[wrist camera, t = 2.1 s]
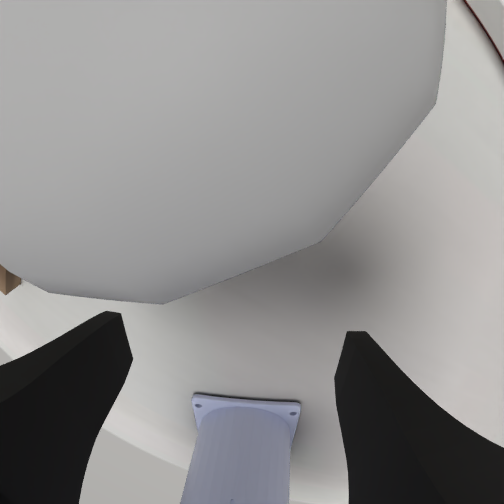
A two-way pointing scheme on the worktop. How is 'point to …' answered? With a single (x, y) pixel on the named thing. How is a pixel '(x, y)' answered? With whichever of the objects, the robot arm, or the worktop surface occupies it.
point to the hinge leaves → (8, 280)
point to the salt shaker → (197, 132)
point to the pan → (490, 20)
